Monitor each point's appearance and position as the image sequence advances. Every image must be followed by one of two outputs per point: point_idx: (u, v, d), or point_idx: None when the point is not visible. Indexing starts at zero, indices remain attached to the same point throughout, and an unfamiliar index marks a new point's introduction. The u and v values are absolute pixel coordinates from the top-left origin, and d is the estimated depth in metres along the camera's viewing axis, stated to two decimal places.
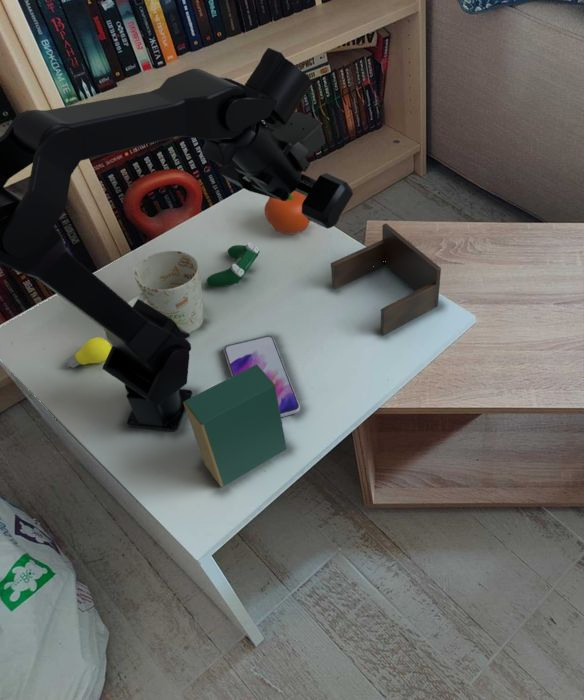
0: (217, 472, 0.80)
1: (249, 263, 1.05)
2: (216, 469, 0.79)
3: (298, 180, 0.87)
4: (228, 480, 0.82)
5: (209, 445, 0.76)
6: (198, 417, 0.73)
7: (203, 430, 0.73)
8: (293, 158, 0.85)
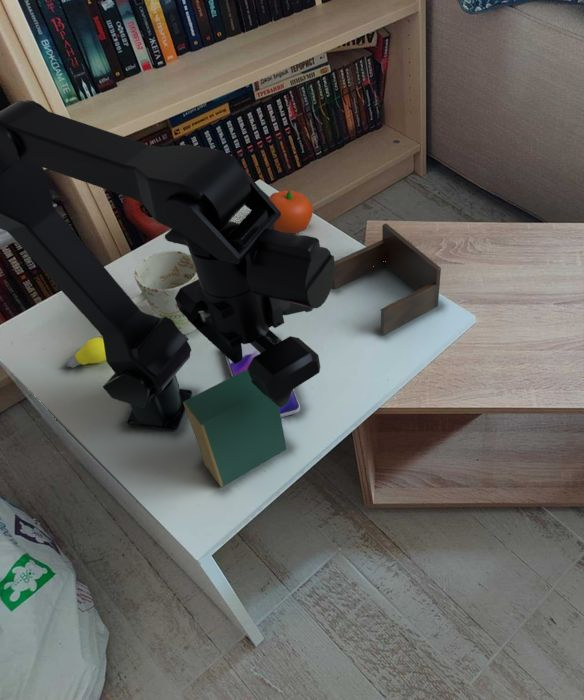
0: (217, 472, 0.80)
1: None
2: (216, 469, 0.79)
3: (262, 333, 0.69)
4: (228, 480, 0.82)
5: (209, 445, 0.76)
6: (198, 417, 0.73)
7: (203, 430, 0.73)
8: (268, 306, 0.69)
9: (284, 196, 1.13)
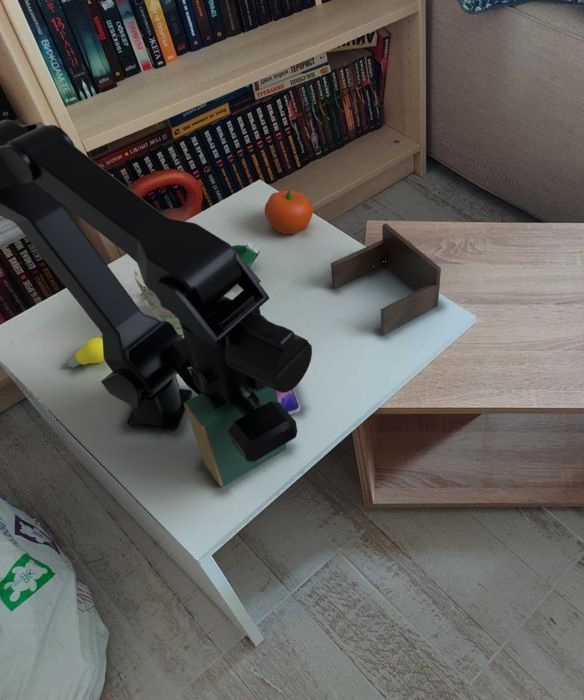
0: (217, 472, 0.80)
1: (249, 263, 1.05)
2: (216, 469, 0.79)
3: (244, 396, 0.73)
4: (228, 480, 0.82)
5: (209, 446, 0.76)
6: (198, 418, 0.73)
7: (203, 431, 0.73)
8: None
9: (284, 196, 1.13)
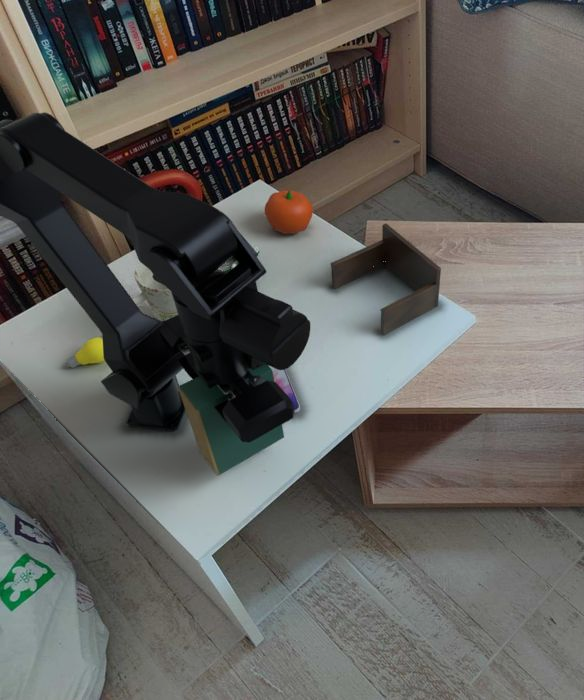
0: (213, 460, 0.78)
1: None
2: (212, 457, 0.77)
3: (240, 375, 0.71)
4: (224, 468, 0.80)
5: (204, 431, 0.74)
6: (193, 402, 0.71)
7: (198, 416, 0.71)
8: None
9: (284, 196, 1.13)
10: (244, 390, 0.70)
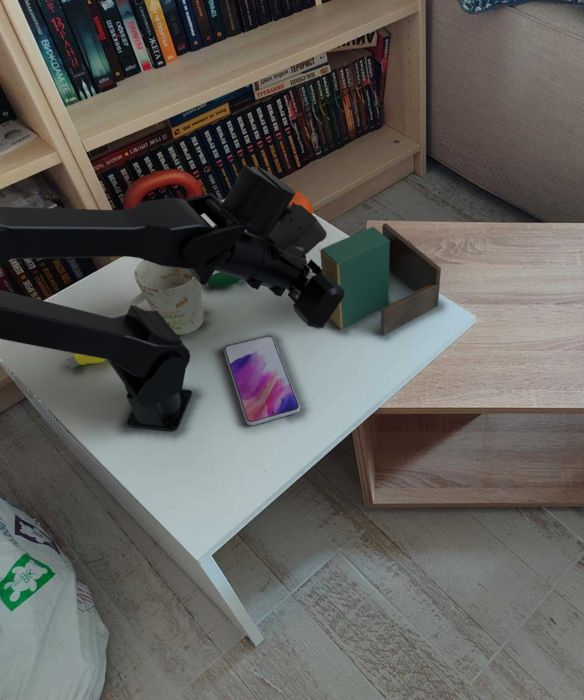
0: (340, 314, 0.99)
1: None
2: (340, 310, 0.99)
3: (295, 277, 0.87)
4: (346, 324, 1.02)
5: None
6: (334, 259, 0.93)
7: (337, 270, 0.93)
8: (286, 259, 0.85)
9: None
10: (301, 289, 0.86)
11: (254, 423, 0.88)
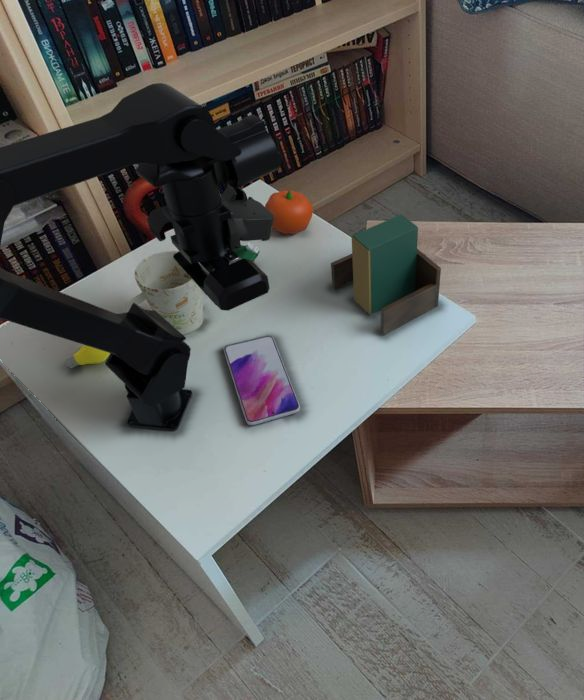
0: (369, 299, 1.02)
1: None
2: (369, 296, 1.02)
3: (220, 254, 0.78)
4: (374, 309, 1.05)
5: (369, 271, 0.98)
6: (365, 245, 0.96)
7: (369, 256, 0.96)
8: (227, 230, 0.78)
9: (284, 196, 1.13)
10: (223, 266, 0.77)
11: (254, 423, 0.88)
